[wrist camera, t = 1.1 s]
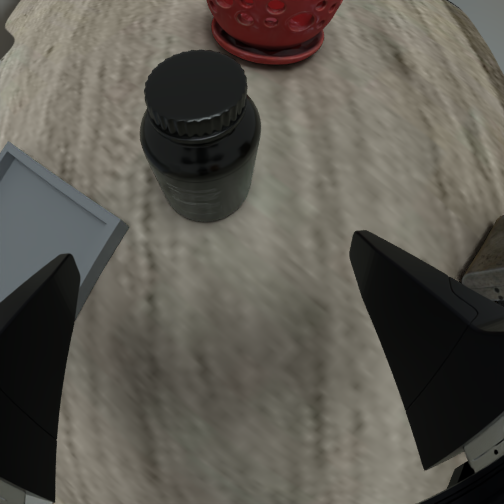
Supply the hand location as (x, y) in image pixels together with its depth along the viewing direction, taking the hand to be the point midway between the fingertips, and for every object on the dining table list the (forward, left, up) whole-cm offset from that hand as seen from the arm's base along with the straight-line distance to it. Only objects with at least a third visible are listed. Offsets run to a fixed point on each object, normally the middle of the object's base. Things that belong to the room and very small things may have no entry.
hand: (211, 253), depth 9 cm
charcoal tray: (-8, +16, -14) cm, 23 cm away
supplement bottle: (+6, +5, -14) cm, 16 cm away
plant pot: (+24, +10, -14) cm, 30 cm away
